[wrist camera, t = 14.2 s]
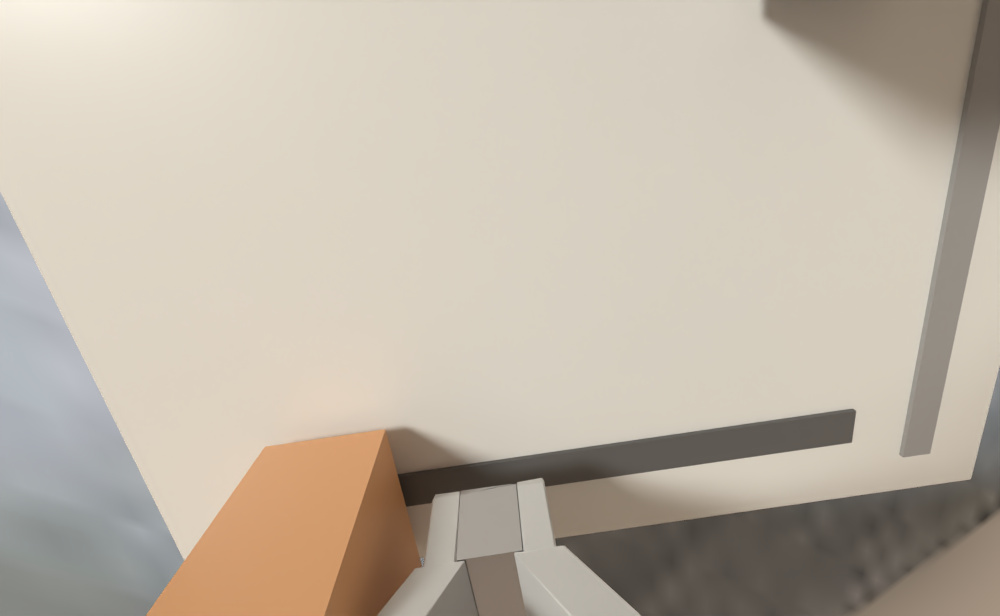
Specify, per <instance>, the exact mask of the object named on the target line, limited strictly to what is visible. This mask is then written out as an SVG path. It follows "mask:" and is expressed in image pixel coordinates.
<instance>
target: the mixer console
mask: <svg viewBox="0 0 1000 616" xmlns="http://www.w3.org/2000/svg"><path fill="white" fill-rule="evenodd" d="M0 192H1V194H2V196H3V198H4V200H5V202H6V204H7V206H8V208H9V210H10V212H11V214H12V216H13V218H14V220H15V222H16V224H17V226H18V228H19V230H20V232H21V234H22V236H23V238H24V240H25V242H26V244H27V246H28V248H29V250H30V252H31V254H32V256H33V258H34V260H35V262H36V264H37V266H38V268H39V270H40V272H41V274H42V276H43V278H44V280H45V282H46V284H47V286H48V288H49V290H50V292H51V294H52V296H53V298H54V300H55V302H56V304H57V306H58V308H59V310H60V312H61V314H62V316H63V318H64V320H65V322H66V324H67V326H68V328H69V330H70V332H71V334H72V336H73V338H74V340H75V342H76V344H77V346H78V348H79V350H80V352H81V354H82V356H83V358H84V360H85V362H86V364H87V366H88V368H89V370H90V372H91V374H92V376H93V378H94V380H95V382H96V384H97V386H98V388H99V390H100V392H101V394H102V396H103V398H104V400H105V402H106V404H107V406H108V408H109V410H110V412H111V414H112V416H113V418H114V420H115V422H116V424H117V426H118V428H119V430H120V432H121V434H122V436H123V438H124V440H125V442H126V444H127V446H128V448H129V450H130V452H131V454H132V456H133V458H134V461H135V463H136V465H137V467H138V469H139V471H140V473H141V475H142V477H143V479H144V481H145V483H146V485H147V487H148V489H149V491H150V493H151V495H152V497H153V499H154V501H155V503H156V505H157V507H158V509H159V511H160V513H161V515H162V517H163V519H164V521H165V523H166V525H167V527H168V529H169V531H170V533H171V535H172V537H173V539H174V541H175V543H176V545H177V547H178V549H179V551H180V553H181V555H182V557H183V559H184V561H185V559H186V558H187V556H188V555H189V554H190V552H191V551H192V549H193V548H194V547H195V545H196V544H197V542H198V541H199V539H200V538H201V537H202V535H203V534H204V532H205V531H206V530H207V528H208V527H209V525H210V524H211V522H212V521H213V520H214V518H215V517H216V515H217V514H218V512H219V511H220V510H221V508H222V507H223V505H224V504H225V503H226V501H227V500H228V498H229V497H230V495H231V494H232V493H233V491H234V490H235V488H236V487H237V486H238V484H239V483H240V481H241V480H242V478H243V477H244V476H245V474H246V473H247V471H248V470H249V469H250V467H251V466H252V464H253V463H254V461H255V460H256V459H257V457H258V456H259V454H260V453H261V451H262V450H263V449H264V447H266V446H273V445H280V444H287V443H294V442H301V441H308V440H314V439H321V438H328V437H335V436H342V435H349V434H356V433H363V432H369V431H376V430H383V429H386V433H387V437H388V441H389V444H390V448H391V452H392V456H393V459H394V463H395V467H396V471H397V474H398V478H399V482H400V486H401V489H402V493H403V497H404V501H405V504H406V508H407V512H408V516H409V519H410V523H411V527H412V531H413V534H414V538H415V542H416V546H417V549H418V553H419V557H420V558H423V557H425V551H426V544H427V536H428V529H429V522H430V514H431V507H432V500H433V499H434V497H435V495H436V494H443V493H451V492H458V491H460V492H461V491H462V490H470V489H477V488H485V487H492V486H500V485H507V484H513V483H517V482H521V481H527V480H532V479H538V478H542V479H543V480H544V483H545V489H546V494H547V499H548V505H549V510H550V515H551V521H552V526H553V531H554V537H555V539H556V538H563V537H570V536H577V535H584V534H591V533H598V532H605V531H612V530H619V529H626V528H633V527H640V526H647V525H654V524H661V523H668V522H675V521H682V520H689V519H696V518H703V517H710V516H717V515H724V514H731V513H738V512H745V511H752V510H759V509H766V508H773V507H780V506H787V505H794V504H801V503H809V502H816V501H823V500H830V499H837V498H844V497H851V496H858V495H865V494H872V493H879V492H886V491H893V490H900V489H907V488H914V487H921V486H928V485H935V484H942V483H949V482H956V481H963V480H970V479H971V477H972V473H973V469H974V465H975V461H976V457H977V453H978V449H979V445H980V441H981V437H982V434H983V430H984V426H985V422H986V418H987V414H988V410H989V406H990V402H991V398H992V394H993V390H994V386H995V382H996V378H997V374H998V370H999V366H1000V0H0Z"/></svg>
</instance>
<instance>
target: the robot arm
mask: <svg viewBox="0 0 1000 616" xmlns="http://www.w3.org/2000/svg"><path fill="white" fill-rule="evenodd" d="M377 616H641V615H640V614H639V613H638V612H637V611H636V610H635V609H634V608H632V607H631V606H630V605H629V604H628V603H627V602H626V601H625V600H624V599H623V598H622V597H620V596H619V595H618V594H617V593H616V592H615V591H614V590H613V589H612V588H611V587H610V586H608V585H607V584H606V583H605V582H604V581H603V580H602V579H601V578H600V577H599V576H597V575H596V574H595V573H594V572H593V571H592V570H591V569H590V568H589V567H588V566H587V565H585V564H584V563H583V562H582V561H581V560H580V559H579V558H578V557H577V556H576V555H575V554H573V553H572V552H571V551H570V550H569V549H568V548H567V547H566V546H565V545H563V546H556V542H555V537H554V531H553V526H552V521H551V515H550V510H549V505H548V499H547V494H546V489H545V483H544V480H543V479H542V478H538V479H532V480H527V481H521V482H517V483H513V484H507V485H500V486H492V487H485V488H477V489H470V490H462V491H461V492H460V491H458V492H451V493H443V494H436V495H435V497H434V499H433V500H432V507H431V514H430V522H429V529H428V536H427V544H426V551H425V558H424V565H423V567H421V568H415V569H414V570H413V572H412V573H411V574H410V575H409V577H408V578H407V579H406V580H405V581H404V583H403V584H402V585H401V586H400V588H399V589H398V590H397V591H396V593H395V594H394V595H393V596H392V597H391V599H390V600H389V601H388V602H387V604H386V605H385V606H384V607H383V609H382V610H381V611H380V612H379V614H378V615H377Z"/></svg>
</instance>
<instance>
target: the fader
mask: <svg viewBox="0 0 1000 616" xmlns="http://www.w3.org/2000/svg"><path fill="white" fill-rule="evenodd" d="M421 567H422V564H421V561H420V557H419V553H418V549H417V546H416V542H415V538H414V534H413V531H412V527H411V523H410V519H409V516H408V512H407V508H406V504H405V501H404V497H403V493H402V489H401V486H400V482H399V478H398V474H397V471H396V467H395V463H394V459H393V456H392V452H391V448H390V444H389V441H388V437H387V433H386V429H383V430H376V431H369V432H363V433H356V434H349V435H342V436H335V437H328V438H321V439H314V440H308V441H301V442H294V443H287V444H280V445H273V446H266V447H264V449H263V450H262V451H261V453H260V454H259V456H258V457H257V459H256V460H255V461H254V463H253V464H252V466H251V467H250V469H249V470H248V471H247V473H246V474H245V476H244V477H243V478H242V480H241V481H240V483H239V484H238V486H237V487H236V488H235V490H234V491H233V493H232V494H231V495H230V497H229V498H228V500H227V501H226V503H225V504H224V505H223V507H222V508H221V510H220V511H219V512H218V514H217V515H216V517H215V518H214V520H213V521H212V522H211V524H210V525H209V527H208V528H207V530H206V531H205V532H204V534H203V535H202V537H201V538H200V539H199V541H198V542H197V544H196V545H195V547H194V548H193V549H192V551H191V552H190V554H189V555H188V556H187V558H186V559H185V561H184V562H183V564H182V565H181V566H180V568H179V569H178V571H177V572H176V574H175V575H174V576H173V578H172V579H171V581H170V582H169V583H168V585H167V586H166V588H165V589H164V591H163V592H162V593H161V595H160V596H159V598H158V599H157V600H156V602H155V603H154V605H153V606H152V608H151V609H150V610H149V612H148V613H147V615H146V616H377V615H378V614H379V612H380V611H381V610H382V609H383V607H384V606H385V605H386V604H387V602H388V601H389V600H390V599H391V597H392V596H393V595H394V594H395V593H396V591H397V590H398V589H399V588H400V586H401V585H402V584H403V583H404V581H405V580H406V579H407V578H408V577H409V575H410V574H411V573H412V572H413V570H414V569H415V568H421Z"/></svg>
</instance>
